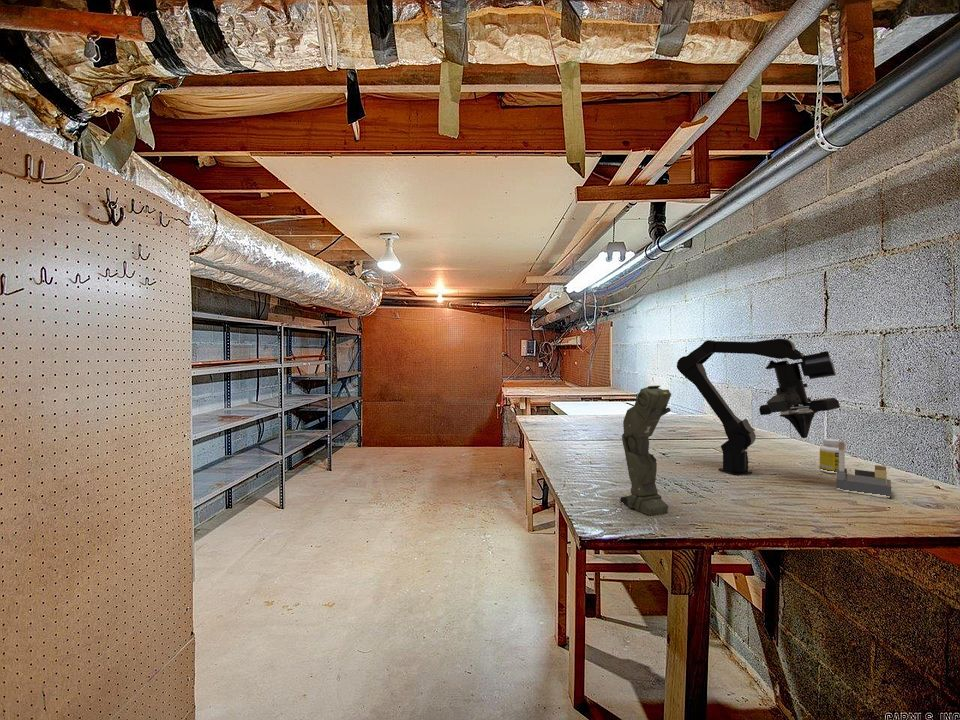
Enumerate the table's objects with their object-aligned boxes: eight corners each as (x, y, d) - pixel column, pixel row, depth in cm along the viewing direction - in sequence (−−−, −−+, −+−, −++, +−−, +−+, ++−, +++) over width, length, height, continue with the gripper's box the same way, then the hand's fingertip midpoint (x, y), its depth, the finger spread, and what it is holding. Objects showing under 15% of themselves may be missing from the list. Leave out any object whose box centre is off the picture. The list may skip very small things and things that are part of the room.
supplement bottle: (837, 475, 128) (837, 442, 128) (816, 471, 133) (815, 439, 133) (846, 473, 131) (846, 440, 131) (824, 469, 136) (824, 437, 136)
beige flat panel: (838, 477, 115) (838, 444, 115) (839, 473, 119) (839, 441, 119) (844, 478, 115) (844, 445, 115) (845, 474, 118) (845, 442, 118)
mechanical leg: (606, 494, 111) (624, 379, 104) (629, 490, 114) (648, 378, 107) (643, 526, 99) (666, 398, 92) (669, 521, 101) (693, 397, 94)
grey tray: (835, 490, 114) (835, 465, 114) (838, 483, 120) (837, 460, 120) (891, 499, 107) (891, 472, 107) (890, 491, 113) (890, 466, 113)
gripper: (740, 389, 130) (753, 443, 128) (805, 381, 112) (821, 442, 110) (766, 385, 134) (779, 436, 132) (833, 376, 116) (849, 435, 114)
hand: (804, 437), depth 122 cm, fingers closed
